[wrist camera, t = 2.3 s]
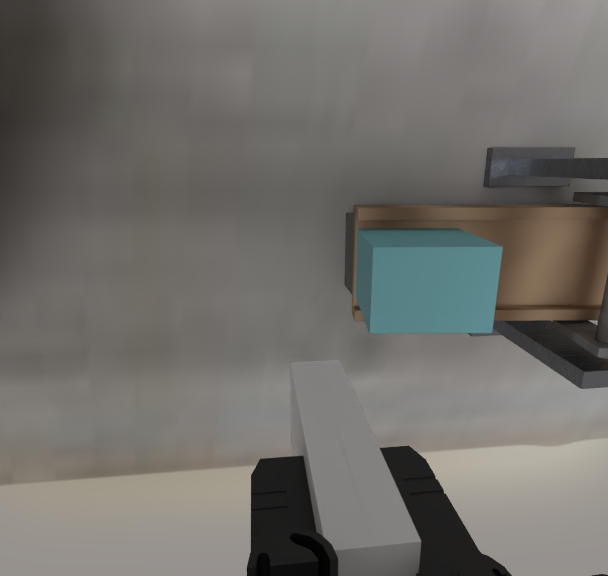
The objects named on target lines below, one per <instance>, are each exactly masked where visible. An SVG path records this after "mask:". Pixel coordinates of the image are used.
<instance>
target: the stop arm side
mask: <svg viewBox="0 0 608 576" xmlns="http://www.w3.org/2000/svg"><path fill="white" fill-rule="evenodd" d="M354 216H355V213H346V247H345V286H346V287H347V288H348V290H349V291H350V292H351V293H352V287H353V251H354Z"/></svg>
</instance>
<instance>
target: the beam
mask: <svg viewBox="0 0 608 576" xmlns="http://www.w3.org/2000/svg"><path fill="white" fill-rule="evenodd" d="M573 201H574V202H581V203H588V204H552V205H355V216H354V251H353V287H352V314H353V317H354V320H355V321H365V320H364V317H363V315H362V312H361V310H360V307H359V304H358V302H357V299H356V269H357V236H358V229H369V228H459V229H462V230H464V231H466V232H469V233H471V234H474V235H476V236H478V237H481V238H483V239H485V240H488V241H490V242H493V243H495V244H497V245H500V246H502V247H503V250H502V258H501V266H500V274H499V282H498V290H497V298H496V306H495V314H494V321H536V320H553V323H552V327H553V328H554V329H556V330H557V331H559V332H560V333H562V334H563V335H565V336H566V337H568V338H569V339H571V340H572V341H574V342H575V343H577V344H578V345H580V346H581V347H583V348H584V349H586V350H587V351H589V352H590V353H592V354H593V355H595V356H597V357H600V358H605V359H608V192H574V197H573ZM588 320H598V325H595V324H593V323H591V322H590V321H588Z"/></svg>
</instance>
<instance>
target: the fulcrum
mask: <svg viewBox="0 0 608 576" xmlns="http://www.w3.org/2000/svg"><path fill="white" fill-rule="evenodd" d="M574 151H575V148H488V151H487V160H486V170H485V179H484V186H487V187H508V186H569V182H570V178H584V179H606V180H608V158H576V159H573V157H574ZM552 323H553V322H552V321H550V320H536V321H494V322H493V330H492V333H468V334H470V335H471V336H489V335H503V336H504V337H506V338H507V339H509V340H510V341H512V342H513V343H515V344H516V345H518V346H519V347H520V348H522V349H523V350H525V351H526V352H528V353H529V354H531V355H532V356H534V357H535V358H537V359H538V360H540V361H541V362H542V363H544V364H545V365H547V366H548V367H550V368H551V369H553V370H554V371H556V372H557V373H559V374H560V375H562V376H563V377H564V378H566V379H567V380H569V381H570V382H572V383H573V384H575V385H576V386H578V387H579V388H581V389H587V388H601V387H608V359H605V358H600V357H597V356H595V355H593V354H592V353H590V352H589V351H587V350H586V349H584V348H583V347H581V346H580V345H578V344H577V343H575V342H574V341H572V340H571V339H569V338H568V337H566V336H565V335H563V334H562V333H560V332H559V331H557V330H556V329H554V328H553V327H552Z"/></svg>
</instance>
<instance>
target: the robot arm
mask: <svg viewBox="0 0 608 576" xmlns="http://www.w3.org/2000/svg"><path fill="white" fill-rule="evenodd" d="M290 380H291V442H292V449H293V456H292V457H279V458H266V459H260V460H259V462H258V464H257V466H256V468H255V470H254V471H253V473H252V475H251V553H250V557H249V561H248V565H247V576H512V575H511V574H510V573H509V572H508V571H507V570H506V568H505V567H504V566H502V565H501V564H499V563H498V562H496V561H495V560H493V559H492V558H490V557H489V556H487V555H484V554H481V552H480V551H479V550H478V548H477V546H476V545H475V543H474V541H473V540H472V538H471V536H470V534H469V533H468V531H467V529H466V528H465V526H464V524H463V523H462V521H461V519H460V517H459V516H458V514H457V512H456V511H455V509H454V507H453V506H452V504H451V502H450V501H449V499H448V497H447V495H446V494H444V490H443V488H442V487H441V485H440V483H439V482H438V480H436V478H435V475H434V473H433V471H432V470H431V468H430V466H429V465H428V463H427V461H426V459H424V458H423V457H422V456H421V455H419V454H418V453H417V452H416V451H414V450H413V449H412V448H411V447H410V446H400V447H388V448H379V446H378V444H377V441H376V439H375V437H374V435H373V432H372V430H371V428H370V426H369V424H368V421H367V419H366V417H365V415H364V412H363V410H362V408H361V406H360V403H359V401H358V399H357V397H356V395H355V392H354V390H353V388H352V386H351V383H350V381H349V379H348V377H347V374H346V372H345V370H344V368H343V366H342V363H341V361H340V360H324V361H306V362H290ZM593 576H608V575H604V574H599V575H593Z"/></svg>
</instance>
